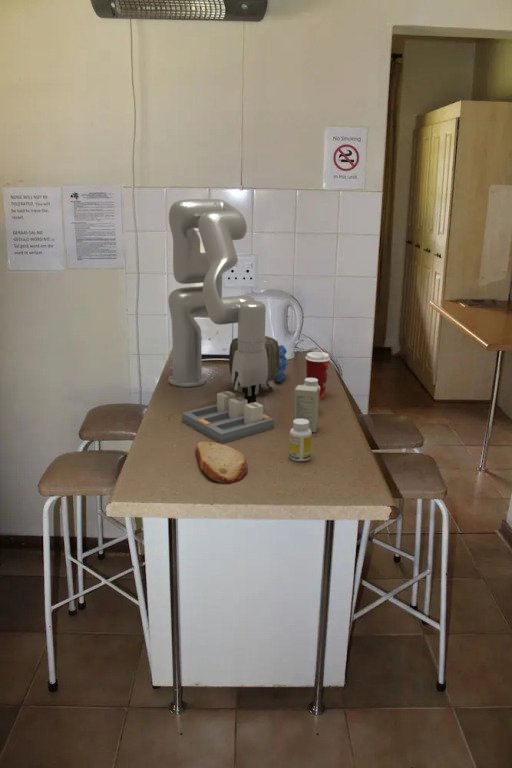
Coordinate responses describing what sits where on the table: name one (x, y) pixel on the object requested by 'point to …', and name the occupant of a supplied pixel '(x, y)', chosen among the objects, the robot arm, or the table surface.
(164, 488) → the table surface
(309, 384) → the supplement bottle
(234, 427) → the switch bank
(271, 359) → the tabletop clock
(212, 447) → the bread slice
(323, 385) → the paper cup
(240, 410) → the tab
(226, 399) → the beige switch slider block
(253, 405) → the tab
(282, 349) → the grapes
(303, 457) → the supplement bottle
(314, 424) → the skincare box
